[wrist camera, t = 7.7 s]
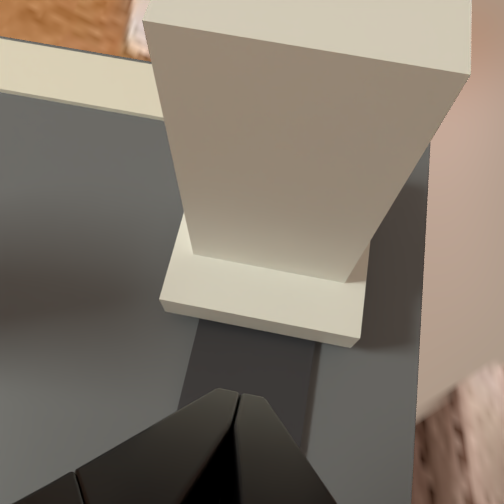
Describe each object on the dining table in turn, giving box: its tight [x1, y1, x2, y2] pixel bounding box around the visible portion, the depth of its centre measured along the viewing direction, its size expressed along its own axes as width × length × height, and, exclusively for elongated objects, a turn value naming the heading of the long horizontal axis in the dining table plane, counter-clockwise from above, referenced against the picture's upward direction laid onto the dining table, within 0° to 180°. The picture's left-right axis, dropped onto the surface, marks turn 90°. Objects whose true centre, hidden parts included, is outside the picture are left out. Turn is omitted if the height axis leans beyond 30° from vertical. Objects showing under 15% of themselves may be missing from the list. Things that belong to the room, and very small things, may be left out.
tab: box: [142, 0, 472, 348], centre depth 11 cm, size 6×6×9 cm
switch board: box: [0, 36, 430, 504], centre depth 16 cm, size 18×26×2 cm
